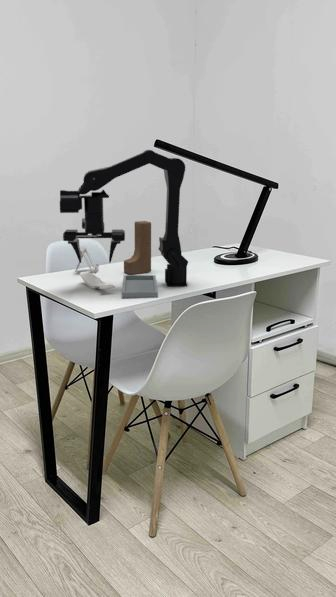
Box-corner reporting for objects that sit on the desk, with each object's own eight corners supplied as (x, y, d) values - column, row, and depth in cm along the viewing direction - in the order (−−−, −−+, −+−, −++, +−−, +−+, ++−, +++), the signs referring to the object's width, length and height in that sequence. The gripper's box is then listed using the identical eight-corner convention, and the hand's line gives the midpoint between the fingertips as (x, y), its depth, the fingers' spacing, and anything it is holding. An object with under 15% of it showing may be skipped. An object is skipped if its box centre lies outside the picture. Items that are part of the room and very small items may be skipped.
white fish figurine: (91, 281, 186) (91, 269, 185) (116, 293, 172) (116, 280, 171) (76, 283, 184) (75, 271, 182) (100, 295, 169) (99, 283, 168)
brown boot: (129, 275, 196) (129, 223, 191) (123, 272, 199) (122, 222, 195) (151, 272, 201) (151, 222, 196) (145, 269, 204) (145, 220, 199)
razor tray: (155, 281, 188) (155, 275, 187) (157, 298, 166) (157, 292, 165) (123, 281, 187) (123, 275, 187) (121, 298, 165) (121, 292, 165)
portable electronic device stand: (96, 273, 198) (95, 250, 196) (74, 273, 198) (73, 250, 196) (99, 268, 207) (98, 245, 204) (77, 268, 207) (77, 245, 204)
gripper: (124, 209, 180) (125, 257, 184) (66, 209, 179) (68, 257, 183) (124, 213, 169) (124, 264, 173) (61, 213, 168) (64, 264, 172)
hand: (95, 262), depth 175 cm, fingers open, 9 cm apart
